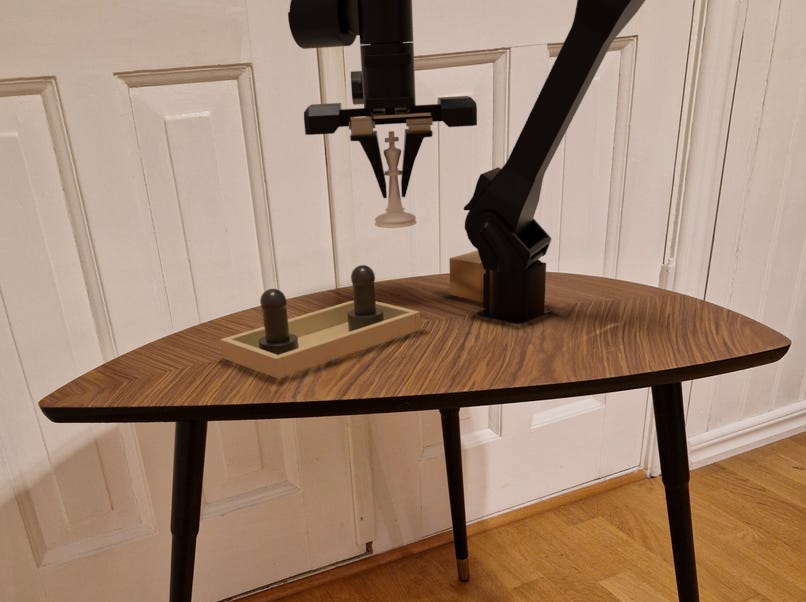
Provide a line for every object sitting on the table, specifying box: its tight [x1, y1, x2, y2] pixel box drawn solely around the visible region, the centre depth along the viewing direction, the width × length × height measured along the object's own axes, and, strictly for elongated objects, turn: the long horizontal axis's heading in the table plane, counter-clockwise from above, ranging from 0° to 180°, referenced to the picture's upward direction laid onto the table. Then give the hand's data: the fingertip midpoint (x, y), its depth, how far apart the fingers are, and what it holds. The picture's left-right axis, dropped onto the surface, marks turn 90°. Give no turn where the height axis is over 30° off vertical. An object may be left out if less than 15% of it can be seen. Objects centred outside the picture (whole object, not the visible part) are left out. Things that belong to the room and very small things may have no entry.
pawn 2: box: [347, 264, 384, 332], centre depth 88 cm, size 4×4×7 cm
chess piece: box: [374, 130, 418, 229], centre depth 92 cm, size 5×5×10 cm
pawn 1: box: [258, 288, 299, 355], centre depth 81 cm, size 4×4×7 cm
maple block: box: [449, 250, 486, 302], centre depth 101 cm, size 5×5×5 cm
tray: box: [219, 299, 422, 380], centre depth 86 cm, size 20×10×2 cm, turn 134°
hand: (394, 197), depth 93 cm, fingers closed on chess piece
